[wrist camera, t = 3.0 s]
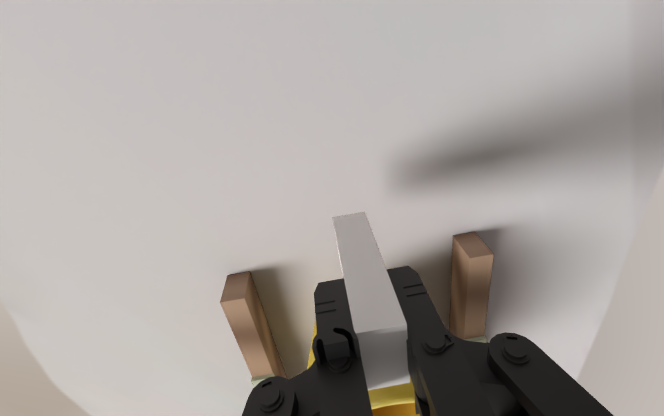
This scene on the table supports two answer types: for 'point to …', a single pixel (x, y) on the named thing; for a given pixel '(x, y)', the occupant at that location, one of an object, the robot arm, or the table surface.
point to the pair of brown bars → (465, 307)
